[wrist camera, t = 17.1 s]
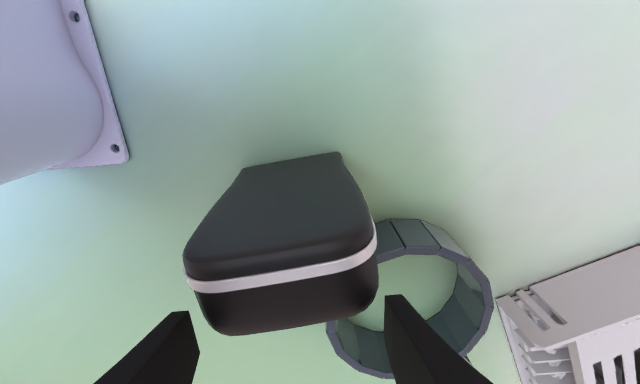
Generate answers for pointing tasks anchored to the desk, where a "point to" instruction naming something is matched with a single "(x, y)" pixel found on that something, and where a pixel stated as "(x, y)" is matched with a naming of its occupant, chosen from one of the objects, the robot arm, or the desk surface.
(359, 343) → the gray segmented ring
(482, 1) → the desk surface
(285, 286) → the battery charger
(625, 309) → the power supply unit
